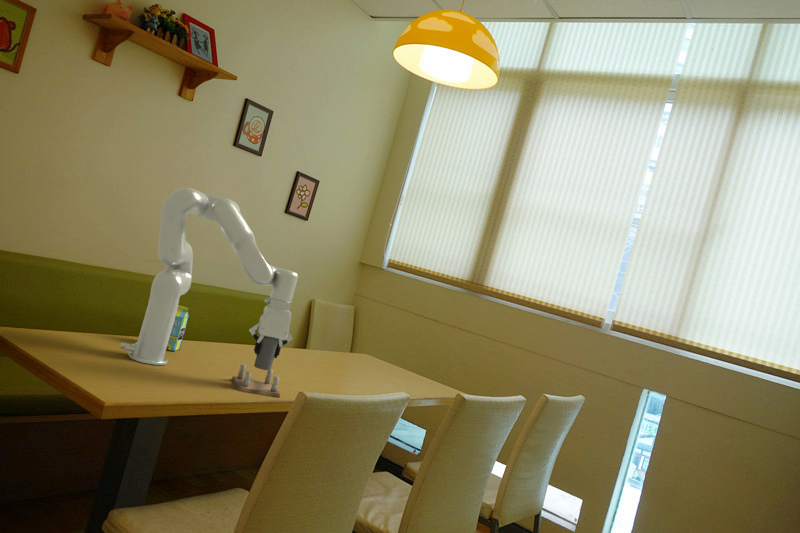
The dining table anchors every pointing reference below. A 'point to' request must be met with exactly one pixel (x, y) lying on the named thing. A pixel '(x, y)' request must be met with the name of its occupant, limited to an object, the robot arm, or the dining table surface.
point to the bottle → (266, 353)
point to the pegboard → (256, 383)
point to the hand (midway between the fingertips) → (265, 355)
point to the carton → (178, 329)
